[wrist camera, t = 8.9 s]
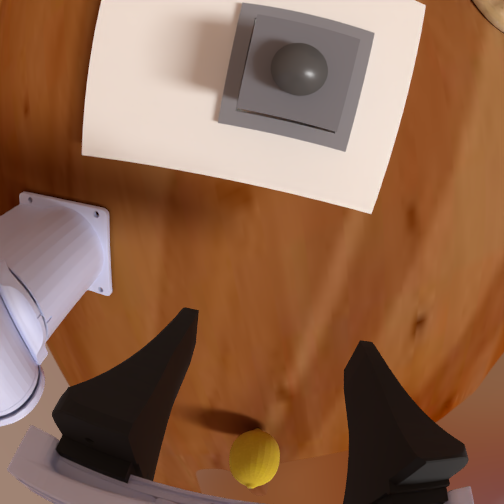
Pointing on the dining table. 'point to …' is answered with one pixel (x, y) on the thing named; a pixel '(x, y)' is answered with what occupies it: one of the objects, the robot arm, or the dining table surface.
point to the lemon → (254, 458)
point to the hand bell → (492, 11)
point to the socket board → (228, 88)
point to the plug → (298, 72)
